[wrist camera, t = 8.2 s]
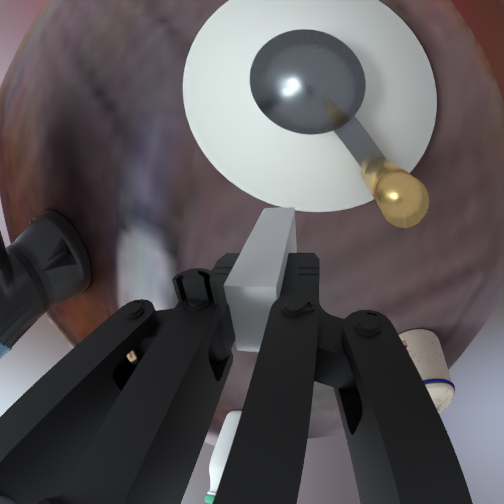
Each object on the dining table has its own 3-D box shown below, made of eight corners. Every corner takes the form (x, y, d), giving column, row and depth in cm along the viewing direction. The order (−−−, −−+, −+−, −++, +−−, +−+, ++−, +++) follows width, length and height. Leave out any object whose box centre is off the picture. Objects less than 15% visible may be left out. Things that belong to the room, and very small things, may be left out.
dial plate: (161, 147, 26) (152, 150, 24) (245, -38, 14) (240, -46, 13) (358, 246, 26) (360, 254, 24) (461, 61, 14) (469, 59, 13)
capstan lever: (238, 80, 19) (198, 67, 12) (312, 23, 15) (305, -19, 9) (350, 212, 22) (361, 259, 15) (424, 162, 18) (467, 188, 12)
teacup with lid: (392, 322, 29) (406, 405, 19) (451, 328, 27) (475, 401, 17) (361, 380, 35) (361, 450, 25) (414, 383, 33) (421, 448, 23)
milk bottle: (220, 413, 48) (187, 496, 31) (242, 405, 45) (209, 500, 28) (249, 429, 50) (223, 509, 33) (273, 422, 46) (248, 512, 29)
